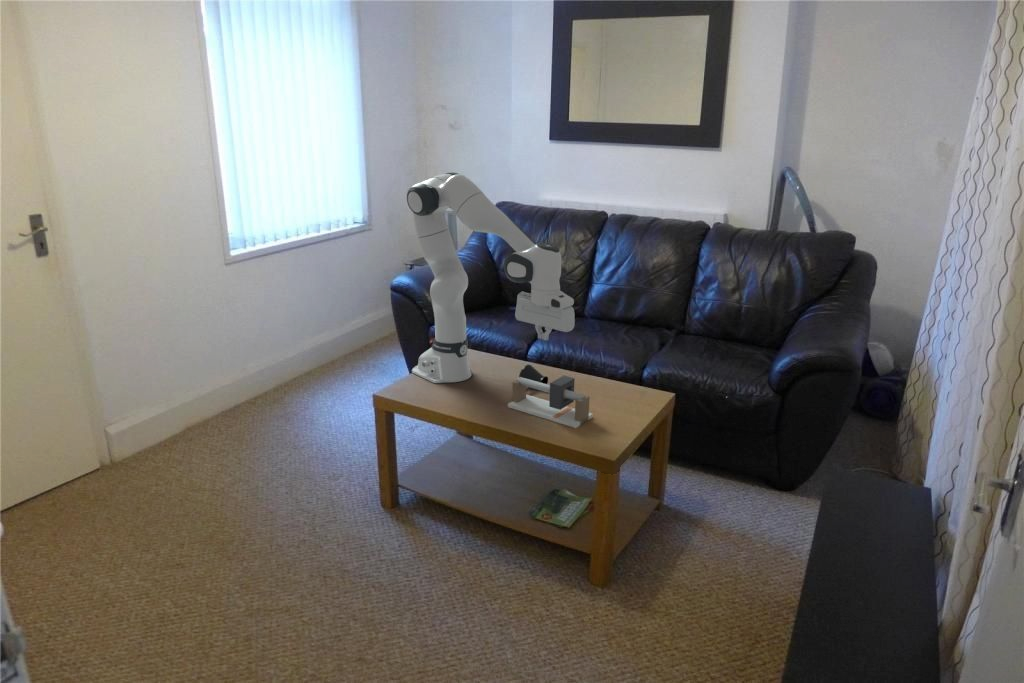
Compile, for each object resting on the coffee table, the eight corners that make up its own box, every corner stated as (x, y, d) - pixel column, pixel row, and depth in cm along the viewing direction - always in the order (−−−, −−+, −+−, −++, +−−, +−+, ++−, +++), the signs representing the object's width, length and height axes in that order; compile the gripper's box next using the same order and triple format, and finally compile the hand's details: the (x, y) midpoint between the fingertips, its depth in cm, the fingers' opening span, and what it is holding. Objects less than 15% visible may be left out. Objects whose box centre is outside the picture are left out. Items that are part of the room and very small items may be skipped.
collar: (549, 406, 221) (549, 382, 218) (563, 398, 227) (563, 375, 224) (560, 409, 218) (560, 385, 216) (573, 401, 225) (574, 378, 222)
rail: (507, 407, 230) (508, 380, 227) (525, 397, 238) (525, 371, 234) (575, 428, 215) (577, 399, 212) (592, 417, 223) (593, 389, 220)
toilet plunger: (530, 378, 253) (549, 387, 248) (498, 399, 241) (517, 409, 236) (531, 360, 249) (551, 369, 245) (499, 381, 237) (519, 391, 232)
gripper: (511, 292, 219) (510, 334, 224) (567, 304, 208) (564, 348, 212) (523, 288, 224) (521, 329, 229) (578, 300, 213) (575, 343, 217)
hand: (543, 339), depth 220 cm, fingers closed
